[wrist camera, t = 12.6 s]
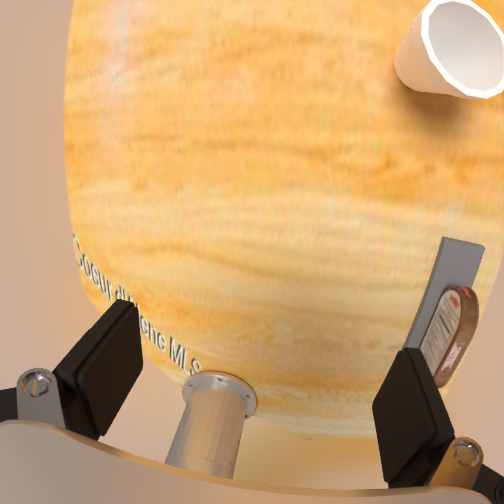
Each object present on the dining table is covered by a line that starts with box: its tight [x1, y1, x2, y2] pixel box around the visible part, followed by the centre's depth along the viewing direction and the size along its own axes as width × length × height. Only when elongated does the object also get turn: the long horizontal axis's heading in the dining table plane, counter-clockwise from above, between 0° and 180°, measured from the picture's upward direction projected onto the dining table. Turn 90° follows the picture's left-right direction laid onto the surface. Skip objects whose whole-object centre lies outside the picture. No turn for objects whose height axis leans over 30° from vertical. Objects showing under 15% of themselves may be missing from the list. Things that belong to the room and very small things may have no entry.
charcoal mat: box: [401, 237, 485, 351], centre depth 40 cm, size 24×7×1 cm, turn 174°
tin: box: [419, 286, 479, 388], centre depth 35 cm, size 15×3×8 cm, turn 173°
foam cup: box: [393, 0, 504, 100], centre depth 23 cm, size 10×9×13 cm
